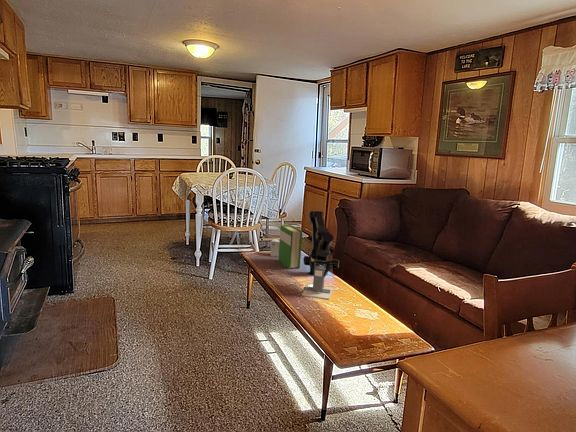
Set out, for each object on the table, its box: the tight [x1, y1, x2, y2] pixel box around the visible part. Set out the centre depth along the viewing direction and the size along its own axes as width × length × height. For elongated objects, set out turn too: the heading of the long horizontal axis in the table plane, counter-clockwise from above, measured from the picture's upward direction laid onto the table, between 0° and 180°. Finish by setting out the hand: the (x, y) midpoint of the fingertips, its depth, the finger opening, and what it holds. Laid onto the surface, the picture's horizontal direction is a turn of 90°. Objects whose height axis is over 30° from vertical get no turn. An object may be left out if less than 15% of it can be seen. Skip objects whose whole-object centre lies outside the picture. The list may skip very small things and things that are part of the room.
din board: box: [301, 284, 334, 300], centre depth 207 cm, size 16×14×1 cm
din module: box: [312, 265, 326, 291], centre depth 205 cm, size 6×5×12 cm
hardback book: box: [278, 224, 303, 270], centre depth 248 cm, size 18×7×24 cm, turn 23°
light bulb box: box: [270, 238, 280, 258], centre depth 269 cm, size 11×7×11 cm, turn 84°
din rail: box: [305, 286, 331, 293], centre depth 206 cm, size 2×13×1 cm, turn 77°
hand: (318, 276), depth 204 cm, fingers closed on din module, 5 cm apart
